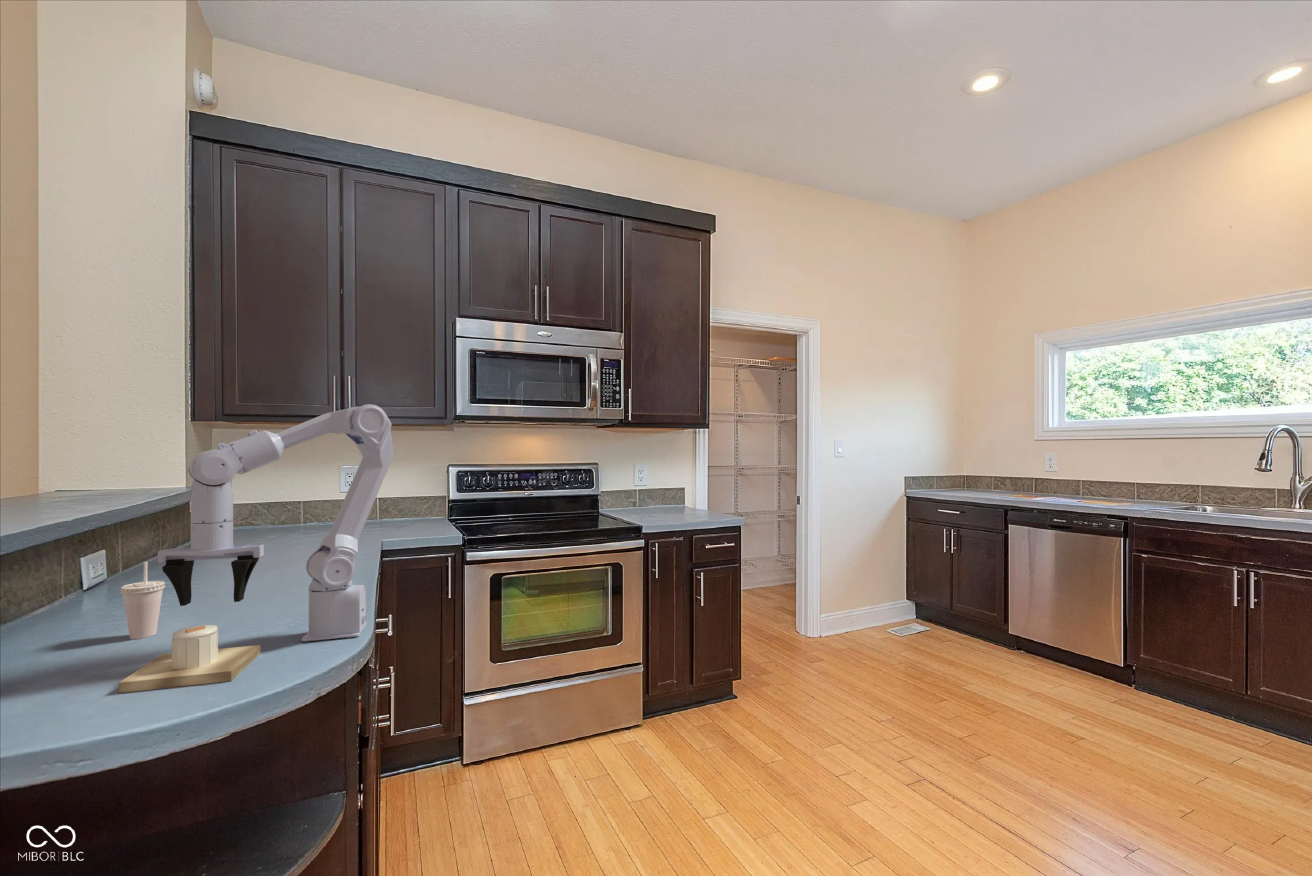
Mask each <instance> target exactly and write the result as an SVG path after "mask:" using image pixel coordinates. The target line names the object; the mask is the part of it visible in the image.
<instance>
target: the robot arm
mask: <svg viewBox="0 0 1312 876" xmlns="http://www.w3.org/2000/svg"><path fill="white" fill-rule="evenodd" d="M392 425H393V423H392V422H391V421H390V419H389V416H388V415H387V413H386V412H385V411H384V410H383V408H381V407H380V406H379V405H376V404H370V403H369V404H368V403H367V404H362V405H361V406H351V407H348V408H346V409H345V408H344V409H341V410H335V411H331V412H326V413H323V414H322V415H318V416H316V417H314V418H311V419H309V420H307V421H304V422H301V423H299V424H296V425H294V426H292V427H289V428H286V429H284V430H282V431H280V432H277V433H273V432H272V431H268V430H265V429H263V430H259V431H258V430H256V429H253V430H250V431H248V432H247V433H246V434H247V436H245V437H242V438H239V439H236V440H234V441H231V442H228V443H224V442H220V443H218V444H216V448H217V449H209V450H207V451H202V452H200V453H198V454H196V455H195V456H194V457H193V458H192V459H191V461H190V463H189V467H187V471H188V473H189V476H190V478H192V479H193V480H192V484H191V488H190V489H191V493H192V494H191V496H190V547H177V548H166V549H160V550H158V551H157V563H158V564H163V563H164V564H165V565H163V566H162V567H161V569H162V572H163V573H164V574H165V575H166V577H167V579H168V580H169V581H170V582H171V584H172V587H173V588H174V590H175V593H176V596H177V599H178V602H179V607H186V606H187V605H189V604H191V602H192V575H193V569H194V565H195V561H205V560H222V559H235V560H233V561H231V562H230V566H231V570H232V576H233V601H234V603H238V602H241V601H243V600H244V597H245V592H246V589H247V585H248V583H249V579H250V578H251V575H252V573H253V571H254V569H255V567H256V565H257V564H258V562H259V558H261V557H263V556H264V555H265V544H263V543H262V544H234V492H233V490H232V489H233V481H232V480H233V479H234V478H235V476H236V474H239V475H244V474H246V473H249V472H251V471H254V470H256V469H259V468H261V467H264V466H266V465H269V464H271V463H274V462H276V461H278V460H280V459H281V457H282V455H283V453H284V451H285V450H286V449H288V448H292V447H294V446H297V445H299V444H303V443H306V442H308V441H311V440H314V439H316V438H318V437H319V438H320V437H321V436H325V435H327V434H336V435H337V434H339V435H340V434H345V436H347V437H348V438H349V439H350V440H352V441H353V442H354V443H355V445H356V446H357V449H358V450H359V452H360V454H361V455H362V459H361V461H360V464H359V466H358V467H357V470H356V472H355V474H354V477H353V479H352V480H351V483H350V485H349V487H348V490H347V493H346V495H345V497H344V499H343V501H342V503H341V506H340V509H339V510H338V513H337V515H336V516H335V517H336V518H335V519H334V522H333V525H332V526H331V529H330V531H329V532H328V534H326V536H324V538H323V539H322V540H321V542H320V545H319V546H318V548H317V549H316V551H314V552H313V553H311V555H309V557H308V558H307V560H306V565H305V567H306V568H305V570H306V573H307V574H308V576H309V577H310V578H311V579H312V580H311V583H310V584H309V585H308V631H307V632H306V633H305V634H304V635H303V636H302V638H301V639H300V640H301V642H311V641H323V640H334V639H344V638H354V637H355V638H356V637H359V636H360V635H361V633H362V632H363V630H364V628H365V627H366V626H367V620H366V619H367V617H366V615H367V614H366V612H367V611H366V610H367V606H366V604H367V603H366V602H367V600H366V597H367V595H366V587H365V585H364V584H353V578H354V576H355V573H356V559H357V556H358V553H359V545H358V544H359V543H358V541H359V538H360V536H361V533H362V531H363V529H364V527H365V524H366V522H367V520H368V517H369V514H370V512H371V510H372V507H373V505H374V503H375V500H376V498H377V496H378V494H379V492H380V489H381V487H382V484H383V482H384V480H385V478H386V475H387V472H388V470H389V467H390V465H391V463H392V461H393V459H394V447H393V440H392V433H391V430H392Z"/></svg>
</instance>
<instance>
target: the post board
mask: <svg viewBox="0 0 1312 876" xmlns="http://www.w3.org/2000/svg"><path fill="white" fill-rule="evenodd" d="M261 651H262V650H261V644H258V645H246V646H236V647H226V648H224V647H223V648H218V659H217V660H216V661H214V662H212V663H210V664H207V665H204V666H200V667H196V668H190V669H175V668H172V652H170V653H162V654H161V655H159V656H158V657H156V658H154V659H153V660H151V661H150V662H148V663H147V664H145V665H143V666H142V667H140V668H139V669H138V670H136V671H134V672H133V673H131V674H130V675H129V676H127V677H125V678H124V679H122V680H121V681H119V682H118V694H122V693H132V692H133V693H134V692H139V691H140V692H141V691H143V692H144V691H150V690H159V689H169V688H171V689H172V688H178V686H180V687H187V686H188V685H189V686H196V685H207V684H215V683H217V684H218V683H224V682H226V683H227V682H232V681H233V680H234V679H235V678H236V677H238V676H239V675H240V674H241V673H242V672H243V671H244V670H245V669H246V668H247V667H248V666H249V665H251V663H252V662H253V661H255V660H256V659H257V658H258V657H259V656H260V655H261V654H260V653H261ZM258 655H259V656H258ZM257 656H258V657H257ZM251 661H252V662H251ZM250 662H251V663H250ZM247 665H248V666H247ZM246 666H247V667H246ZM245 667H246V668H245ZM244 668H245V669H244ZM243 669H244V670H243ZM242 670H243V671H242Z"/></svg>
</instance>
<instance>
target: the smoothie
mask: <svg viewBox="0 0 1312 876" xmlns="http://www.w3.org/2000/svg"><path fill="white" fill-rule="evenodd" d="M165 588H166V582H165V581H163V580H151V581H150V580H148V561H143V581H140V582H133V583H130V584H129V583H128V584H125V585H122V586H121V587H120V592H119V593H120V594H121V595H122V598H123V603H124V611H125V616H126V623H127V628H128V634H129V638H130V639H131V640H141V639H147V638H151V637H153V635H154V636H155V635H157V631H158V630H157V629H158V623H159V618H160V610H161V604H162V598H163V591H164V590H163V589H165ZM150 636H151V637H150ZM146 637H147V638H146Z"/></svg>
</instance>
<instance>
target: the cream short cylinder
mask: <svg viewBox="0 0 1312 876" xmlns="http://www.w3.org/2000/svg"><path fill="white" fill-rule="evenodd" d="M218 628H219V627H218V625H215V624H214V625H213V624H205V625H204V624H203V625H195V626H190V627H186V628H183V629H179V630H177V631H175V632H173V633H172V636H171V637H172V638H171V653H172V668H175V669H190V668H196V667H200V666H204V665H207V664H210V663H212V662H214V661H216V660H217V659H218V649H219V630H218Z"/></svg>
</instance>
